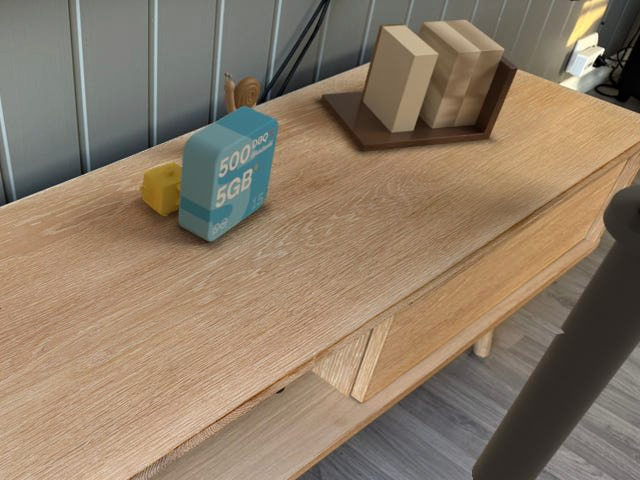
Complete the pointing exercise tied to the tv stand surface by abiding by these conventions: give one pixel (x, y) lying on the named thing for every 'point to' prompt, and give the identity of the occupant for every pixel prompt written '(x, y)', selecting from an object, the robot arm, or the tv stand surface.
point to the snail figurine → (241, 93)
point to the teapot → (162, 188)
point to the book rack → (440, 93)
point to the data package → (226, 172)
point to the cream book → (398, 77)
